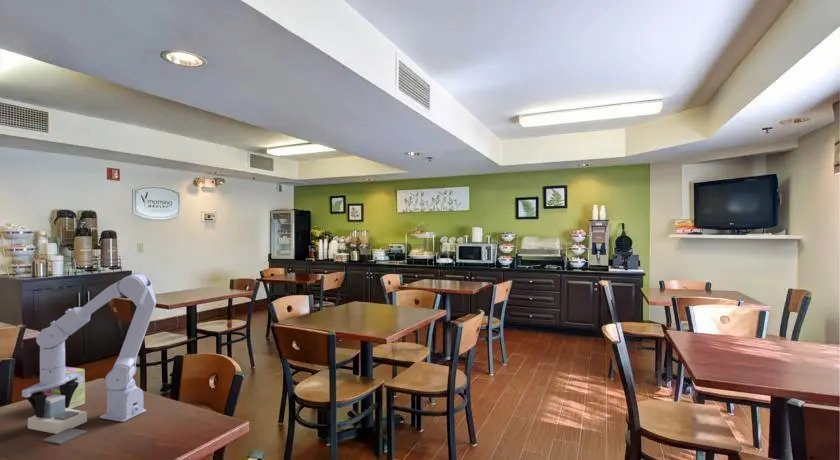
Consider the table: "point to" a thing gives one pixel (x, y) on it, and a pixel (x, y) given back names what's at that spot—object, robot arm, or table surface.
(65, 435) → the mat
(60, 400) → the plug
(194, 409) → the table surface
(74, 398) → the box
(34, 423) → the frame
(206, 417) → the table surface
